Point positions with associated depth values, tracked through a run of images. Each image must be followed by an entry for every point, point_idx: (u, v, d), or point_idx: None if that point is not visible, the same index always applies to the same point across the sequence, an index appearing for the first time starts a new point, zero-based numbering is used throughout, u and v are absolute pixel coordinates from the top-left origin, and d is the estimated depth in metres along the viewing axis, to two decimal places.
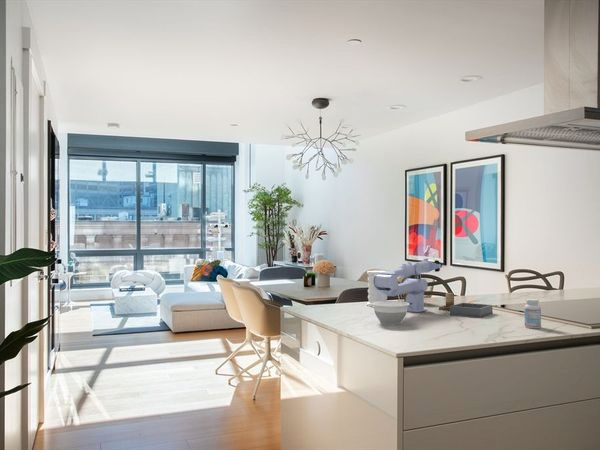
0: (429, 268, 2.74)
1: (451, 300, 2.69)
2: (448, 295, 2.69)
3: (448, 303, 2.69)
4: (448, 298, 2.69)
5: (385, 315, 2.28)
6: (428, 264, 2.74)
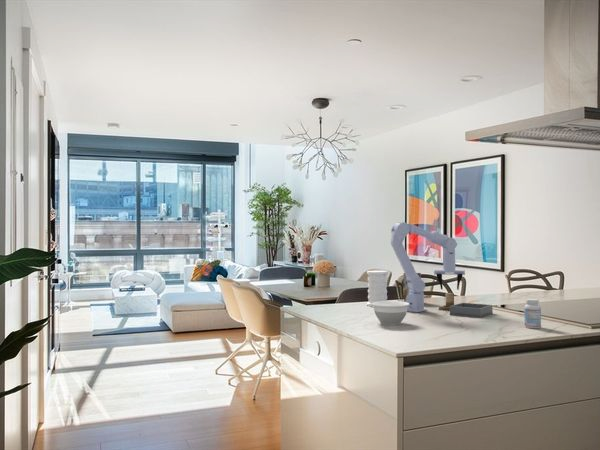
0: (454, 268, 2.69)
1: (451, 300, 2.69)
2: (448, 295, 2.69)
3: (448, 303, 2.69)
4: (448, 298, 2.69)
5: (385, 315, 2.28)
6: None
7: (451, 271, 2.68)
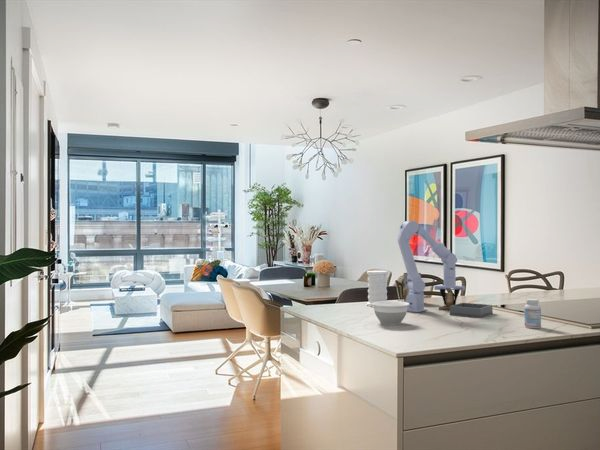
0: (455, 283, 2.69)
1: (451, 300, 2.69)
2: (448, 295, 2.69)
3: (448, 303, 2.69)
4: (448, 298, 2.69)
5: (385, 315, 2.28)
6: None
7: (451, 287, 2.68)
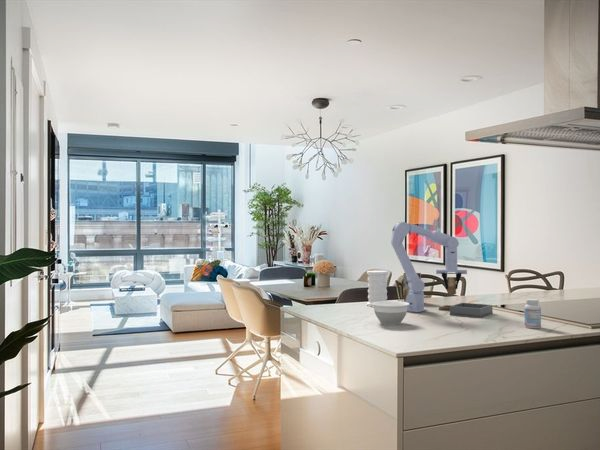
0: None
1: (453, 284, 2.68)
2: (450, 279, 2.68)
3: (450, 287, 2.68)
4: (449, 282, 2.68)
5: (385, 315, 2.28)
6: None
7: (453, 270, 2.67)
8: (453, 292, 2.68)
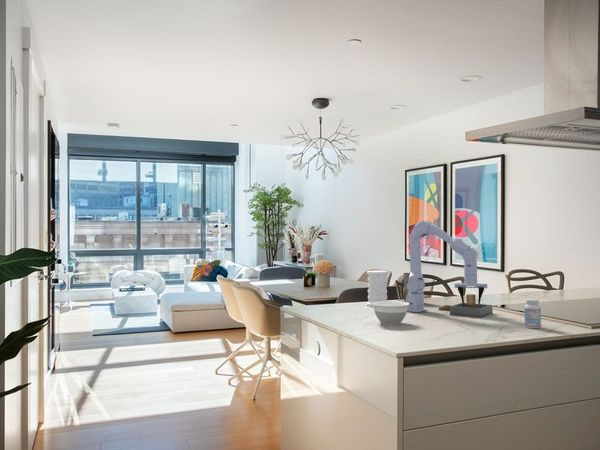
0: (476, 281, 2.54)
1: (472, 302, 2.54)
2: (469, 296, 2.54)
3: (469, 305, 2.54)
4: (469, 300, 2.54)
5: (385, 315, 2.28)
6: None
7: (473, 284, 2.53)
8: None
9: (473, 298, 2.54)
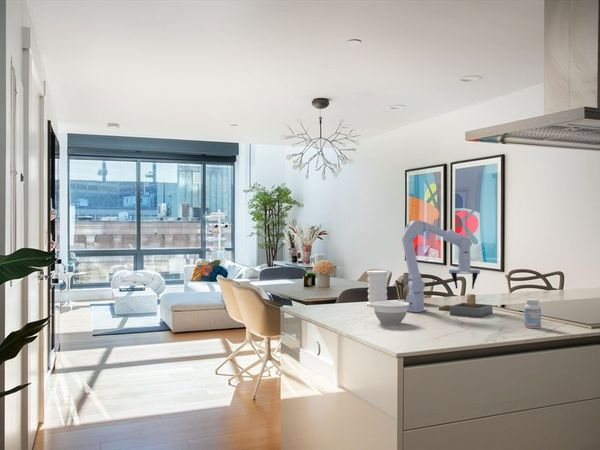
0: None
1: (472, 302, 2.54)
2: (469, 296, 2.54)
3: (469, 305, 2.54)
4: (469, 300, 2.54)
5: (385, 315, 2.28)
6: None
7: (466, 270, 2.67)
8: None
9: (473, 298, 2.54)
